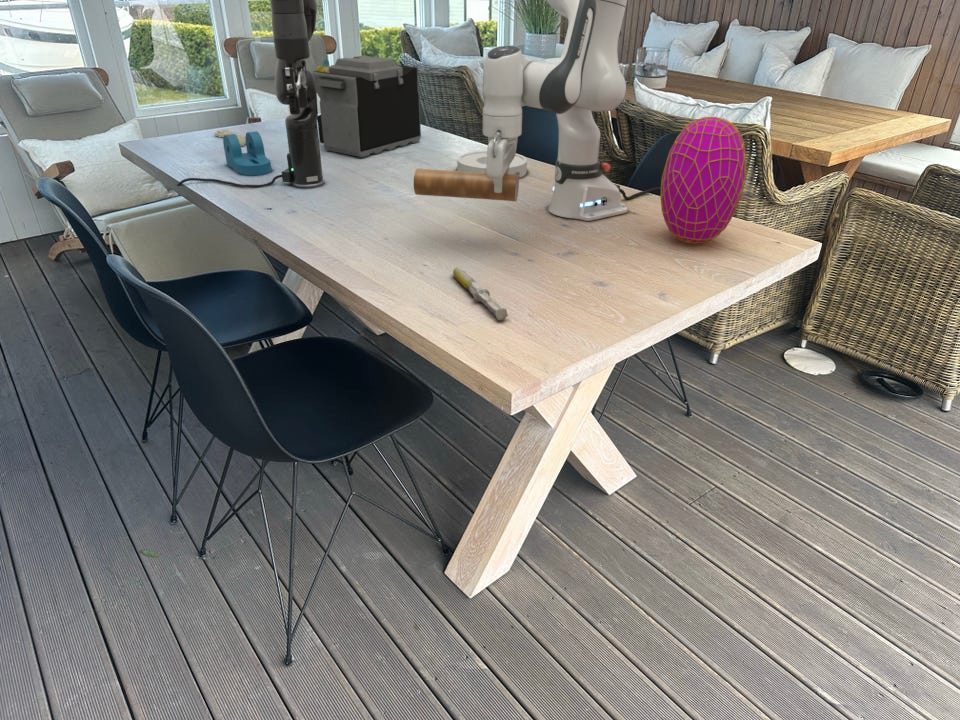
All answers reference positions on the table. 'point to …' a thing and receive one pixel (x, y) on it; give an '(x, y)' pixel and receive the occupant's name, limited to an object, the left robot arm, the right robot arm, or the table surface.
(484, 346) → the table surface
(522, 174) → the ashtray
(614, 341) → the table surface
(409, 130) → the grey cooler box
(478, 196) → the rod
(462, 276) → the syringe
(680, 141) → the decorative egg
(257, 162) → the camera mount
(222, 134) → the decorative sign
